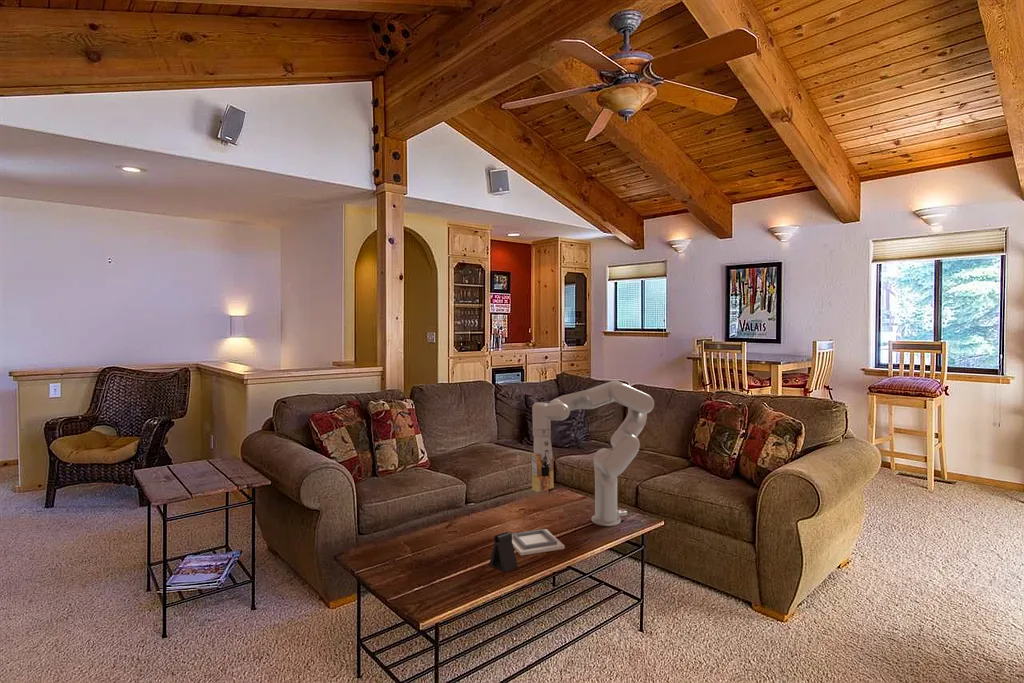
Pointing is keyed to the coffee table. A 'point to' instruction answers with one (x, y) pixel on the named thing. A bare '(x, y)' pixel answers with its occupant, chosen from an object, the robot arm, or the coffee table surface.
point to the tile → (535, 542)
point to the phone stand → (503, 553)
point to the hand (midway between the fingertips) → (542, 473)
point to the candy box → (537, 479)
